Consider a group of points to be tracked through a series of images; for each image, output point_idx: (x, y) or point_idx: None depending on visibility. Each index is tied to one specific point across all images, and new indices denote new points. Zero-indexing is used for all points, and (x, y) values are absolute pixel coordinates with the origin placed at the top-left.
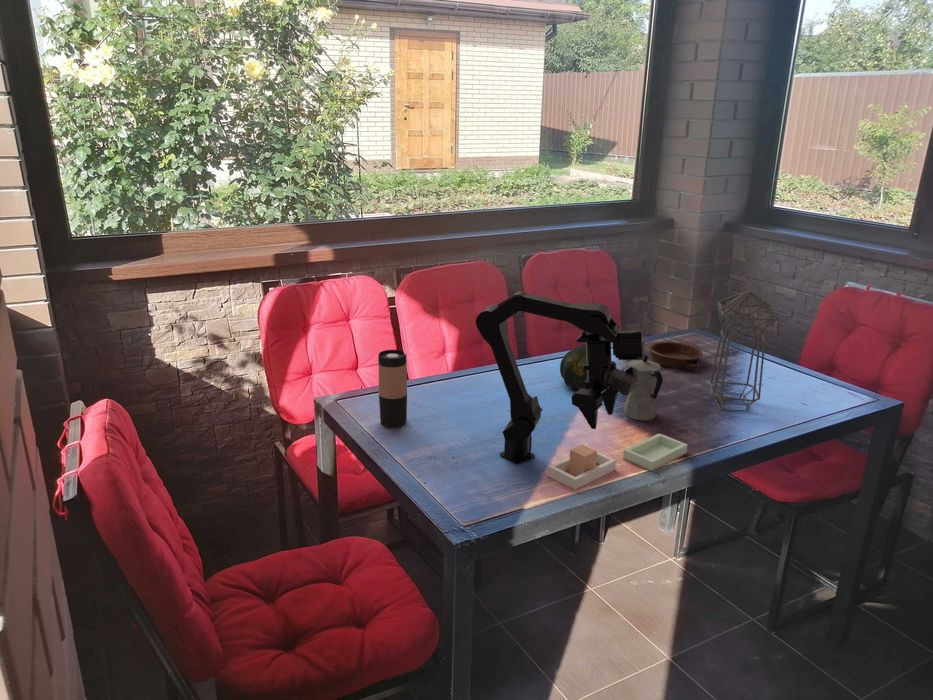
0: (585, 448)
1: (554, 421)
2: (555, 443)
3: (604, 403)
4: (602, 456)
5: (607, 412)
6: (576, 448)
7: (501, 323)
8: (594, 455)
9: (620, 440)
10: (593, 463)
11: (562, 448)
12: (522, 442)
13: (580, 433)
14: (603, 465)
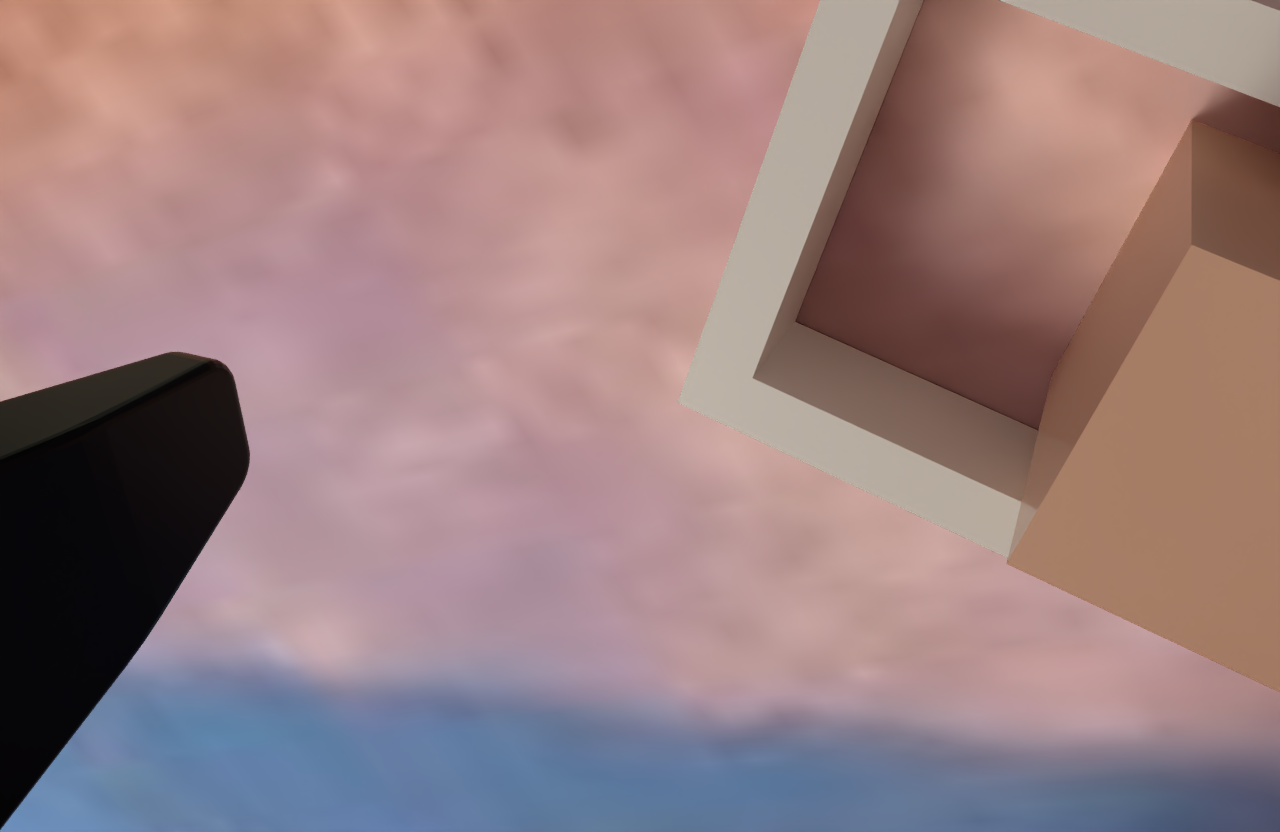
0: (1166, 485)
1: (203, 798)
2: (605, 744)
3: (7, 795)
4: (841, 141)
5: (217, 513)
6: (1239, 636)
7: None
8: (1266, 250)
9: (99, 93)
10: (1268, 202)
11: (674, 664)
12: None
13: (249, 546)
14: (1197, 14)
